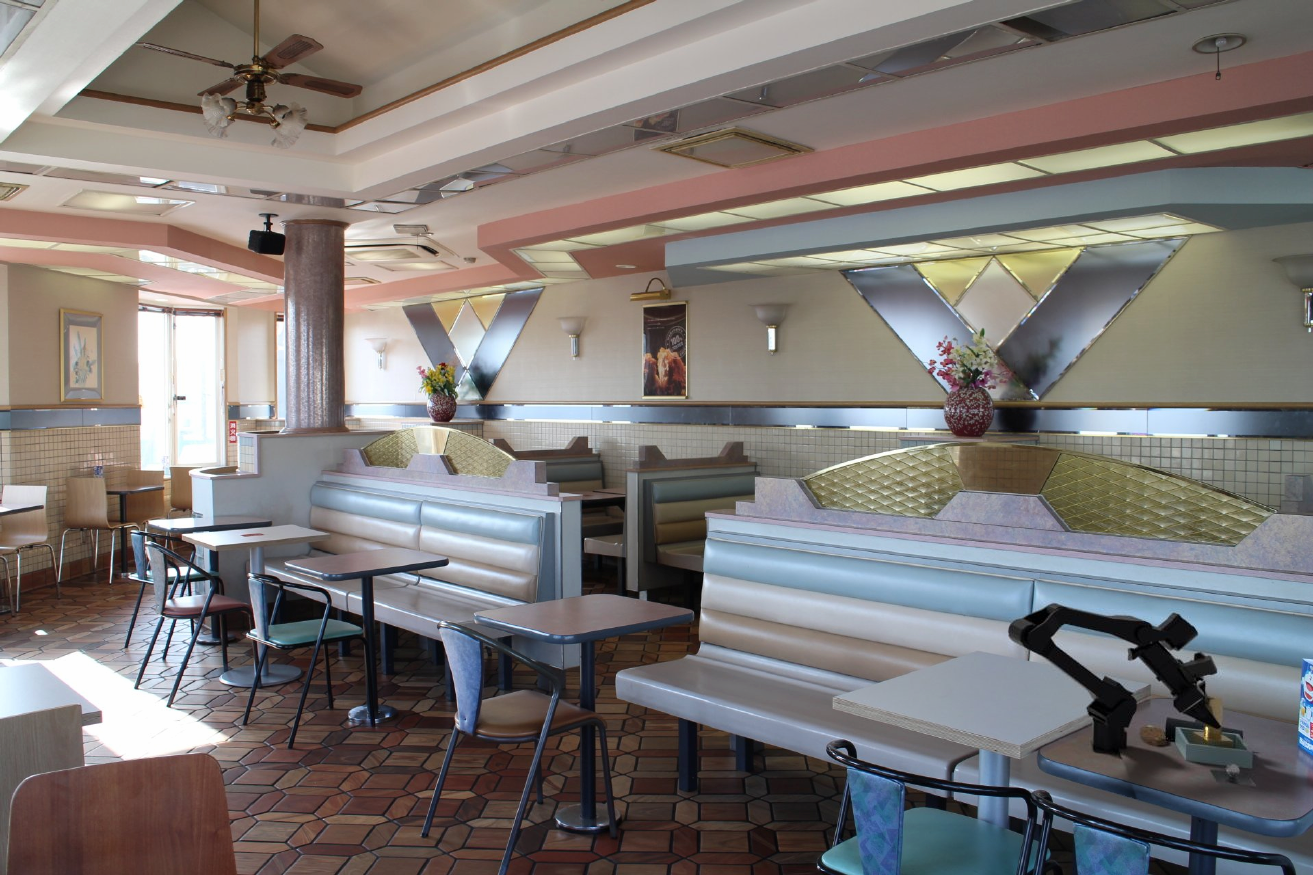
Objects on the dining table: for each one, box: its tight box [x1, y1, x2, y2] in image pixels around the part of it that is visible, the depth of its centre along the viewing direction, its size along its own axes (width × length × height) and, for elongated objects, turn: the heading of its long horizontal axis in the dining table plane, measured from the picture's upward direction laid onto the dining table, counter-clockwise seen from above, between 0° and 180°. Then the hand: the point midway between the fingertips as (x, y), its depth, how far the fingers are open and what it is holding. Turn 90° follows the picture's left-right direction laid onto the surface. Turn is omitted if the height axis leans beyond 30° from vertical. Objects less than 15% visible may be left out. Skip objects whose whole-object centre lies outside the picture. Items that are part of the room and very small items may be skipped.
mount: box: [1209, 764, 1257, 787], centre depth 194 cm, size 7×7×4 cm
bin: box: [1174, 727, 1254, 770], centre depth 207 cm, size 12×12×4 cm
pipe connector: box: [1164, 717, 1244, 741], centre depth 220 cm, size 12×5×15 cm
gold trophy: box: [1192, 694, 1233, 749], centre depth 207 cm, size 6×6×13 cm
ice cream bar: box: [1139, 725, 1168, 747], centre depth 219 cm, size 5×4×15 cm
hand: (1218, 722), depth 206 cm, fingers open, 9 cm apart
